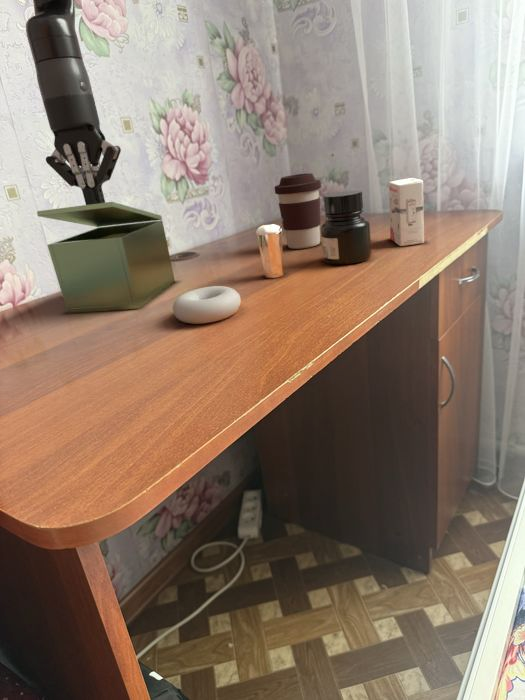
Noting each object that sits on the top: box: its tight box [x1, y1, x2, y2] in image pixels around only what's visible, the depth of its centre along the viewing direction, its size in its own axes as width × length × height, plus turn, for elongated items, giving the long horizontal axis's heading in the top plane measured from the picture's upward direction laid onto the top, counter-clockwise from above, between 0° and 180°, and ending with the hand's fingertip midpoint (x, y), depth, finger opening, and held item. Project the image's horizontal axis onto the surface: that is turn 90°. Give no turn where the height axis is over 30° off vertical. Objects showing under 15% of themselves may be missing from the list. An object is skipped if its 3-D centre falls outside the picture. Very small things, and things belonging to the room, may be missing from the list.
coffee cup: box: [274, 172, 322, 250], centre depth 109 cm, size 10×10×15 cm
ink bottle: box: [320, 190, 372, 266], centre depth 91 cm, size 10×9×12 cm
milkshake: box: [255, 218, 284, 279], centre depth 88 cm, size 4×5×10 cm
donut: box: [172, 285, 242, 325], centre depth 73 cm, size 10×4×10 cm
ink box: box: [388, 177, 425, 247], centre depth 99 cm, size 9×5×12 cm, turn 0°
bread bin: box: [47, 219, 176, 314], centre depth 88 cm, size 16×14×12 cm
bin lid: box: [36, 201, 163, 228], centre depth 85 cm, size 16×14×1 cm
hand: (97, 210), depth 83 cm, fingers closed
